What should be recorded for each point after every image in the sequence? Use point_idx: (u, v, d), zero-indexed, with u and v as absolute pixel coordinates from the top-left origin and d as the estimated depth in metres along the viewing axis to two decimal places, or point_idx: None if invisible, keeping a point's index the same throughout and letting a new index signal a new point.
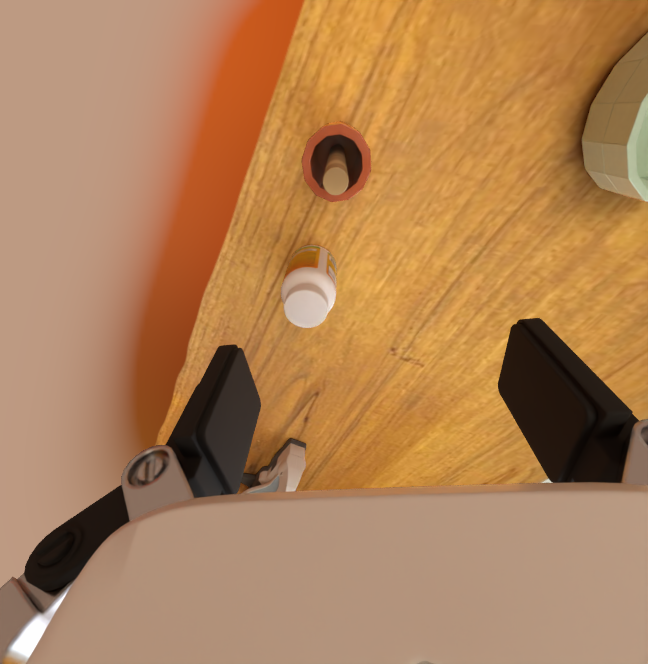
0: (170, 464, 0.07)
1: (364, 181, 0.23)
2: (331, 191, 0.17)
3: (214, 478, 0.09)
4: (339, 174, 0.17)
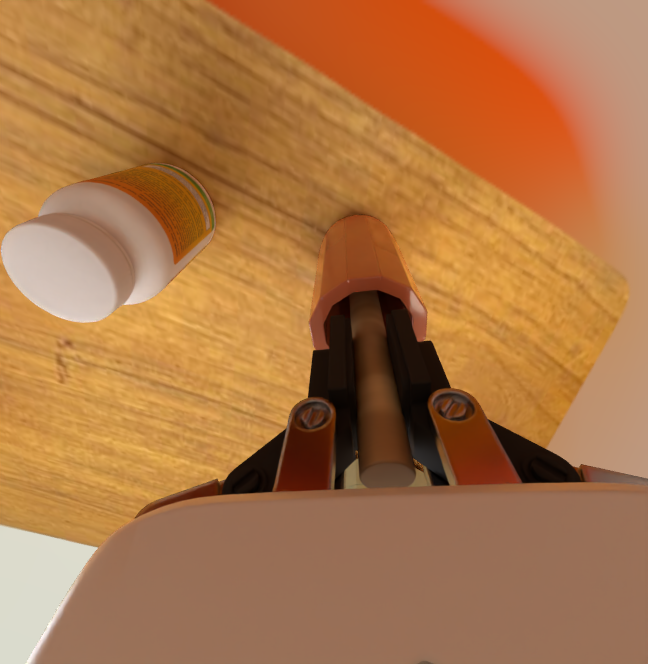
0: (333, 411, 0.08)
1: None
2: (368, 472, 0.08)
3: (351, 431, 0.09)
4: (400, 483, 0.08)
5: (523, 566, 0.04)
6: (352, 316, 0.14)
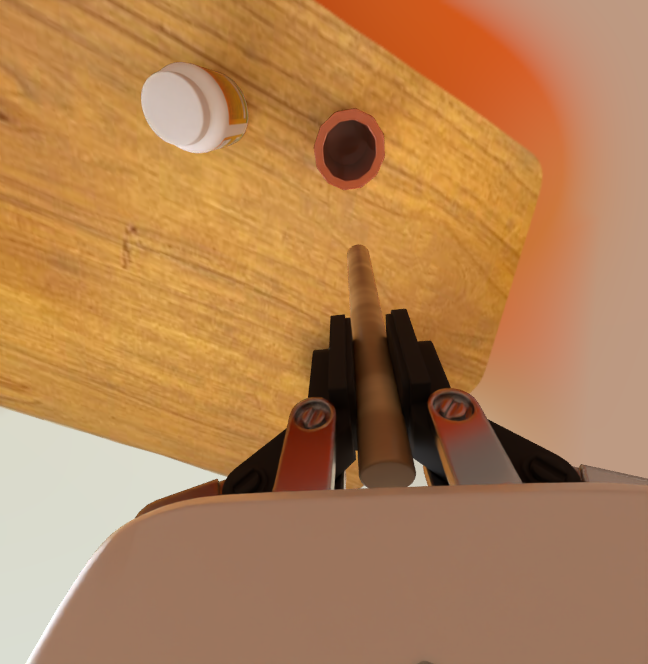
0: (333, 411, 0.08)
1: (334, 184, 0.23)
2: (367, 471, 0.08)
3: (351, 431, 0.09)
4: (400, 483, 0.08)
5: (523, 566, 0.04)
6: (352, 316, 0.14)
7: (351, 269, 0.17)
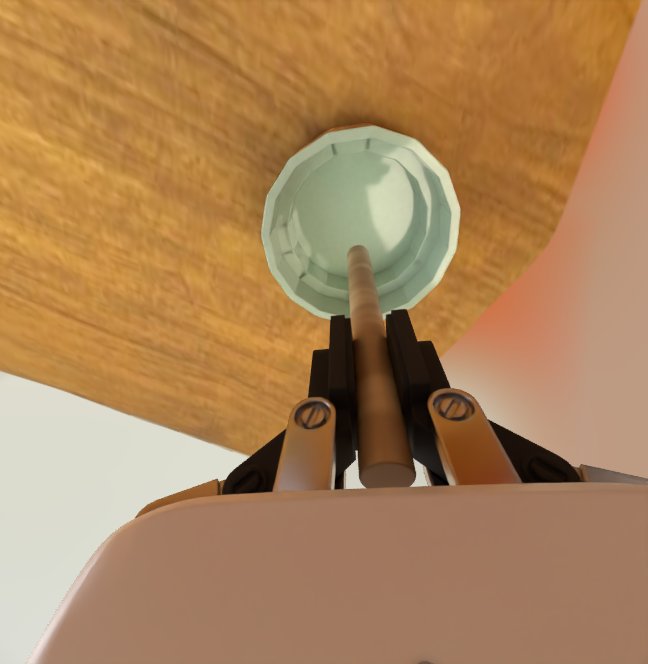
0: (333, 411, 0.08)
1: None
2: (368, 473, 0.08)
3: (351, 431, 0.09)
4: (400, 484, 0.08)
5: (523, 566, 0.04)
6: (352, 316, 0.14)
7: (351, 269, 0.17)
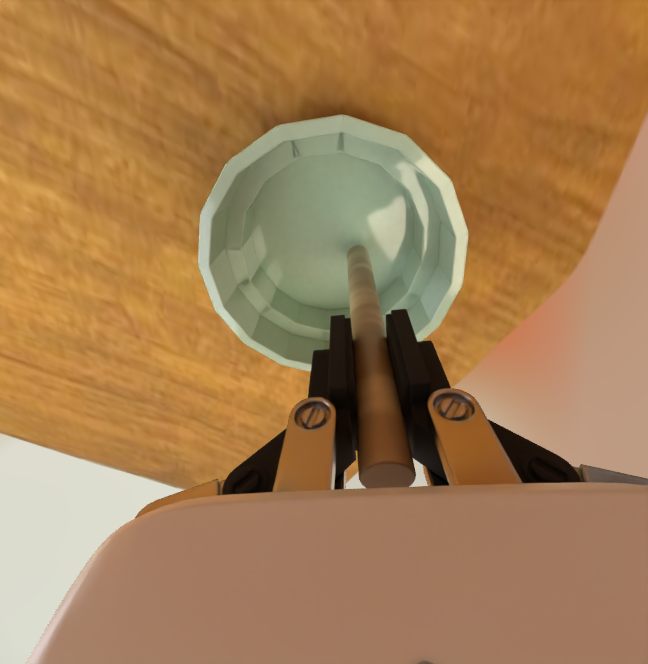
0: (333, 411, 0.08)
1: None
2: (367, 473, 0.08)
3: (351, 432, 0.09)
4: (400, 484, 0.08)
5: (523, 566, 0.04)
6: (352, 316, 0.14)
7: (351, 270, 0.17)
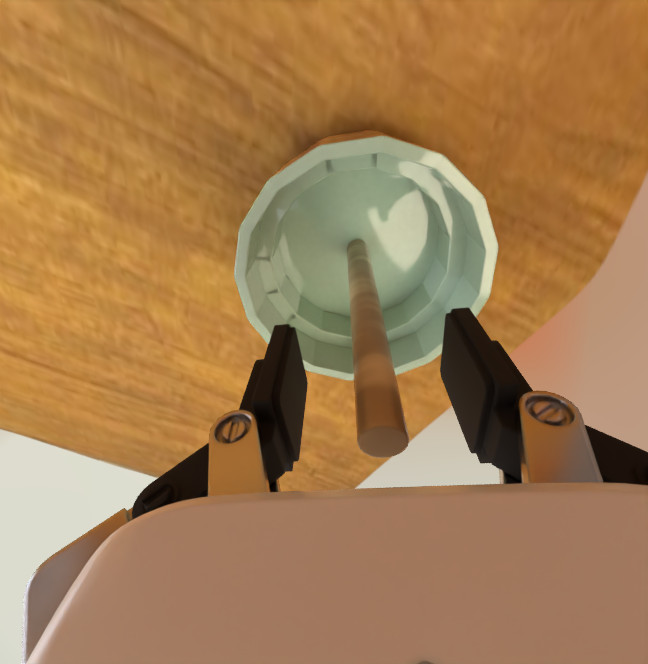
0: (253, 425, 0.08)
1: None
2: (365, 437, 0.09)
3: (282, 443, 0.09)
4: (395, 448, 0.09)
5: (523, 566, 0.04)
6: (351, 304, 0.14)
7: (351, 262, 0.18)
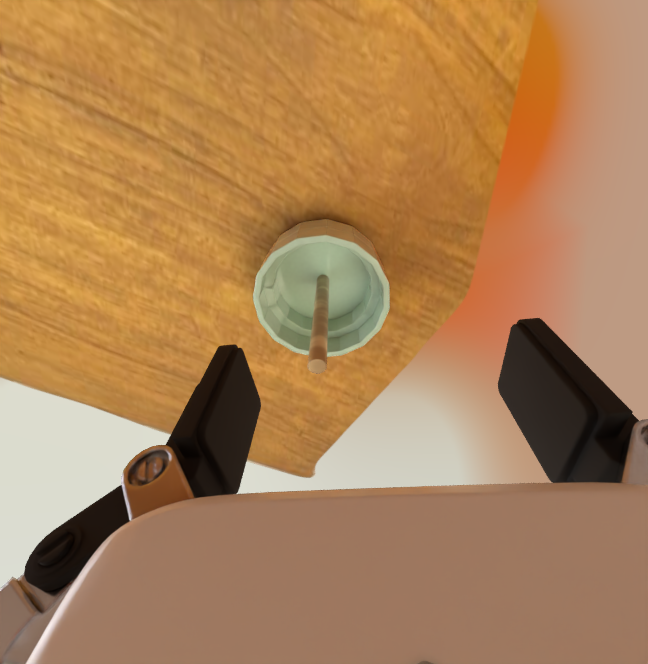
0: (170, 464, 0.07)
1: None
2: (310, 364, 0.23)
3: (214, 478, 0.09)
4: (321, 369, 0.23)
5: (523, 566, 0.04)
6: (313, 313, 0.29)
7: (316, 289, 0.33)
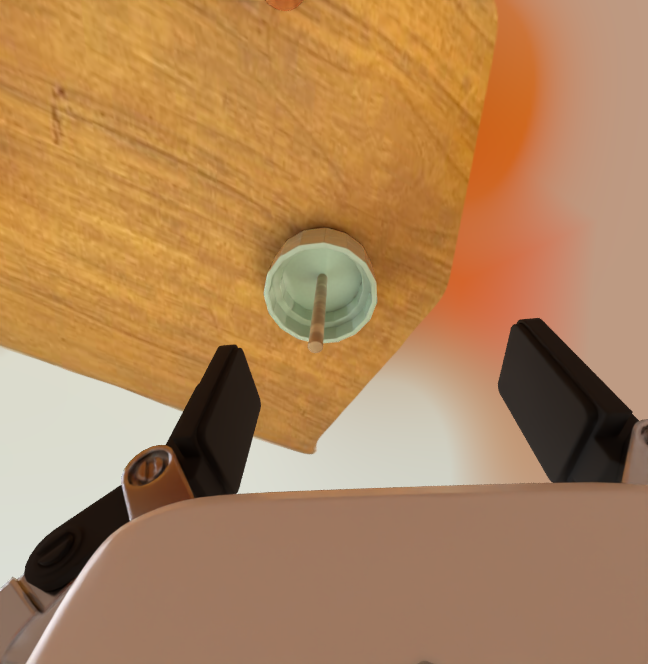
0: (170, 464, 0.07)
1: None
2: (309, 345, 0.29)
3: (214, 478, 0.09)
4: (319, 349, 0.30)
5: (523, 566, 0.04)
6: (313, 306, 0.35)
7: (316, 286, 0.39)
